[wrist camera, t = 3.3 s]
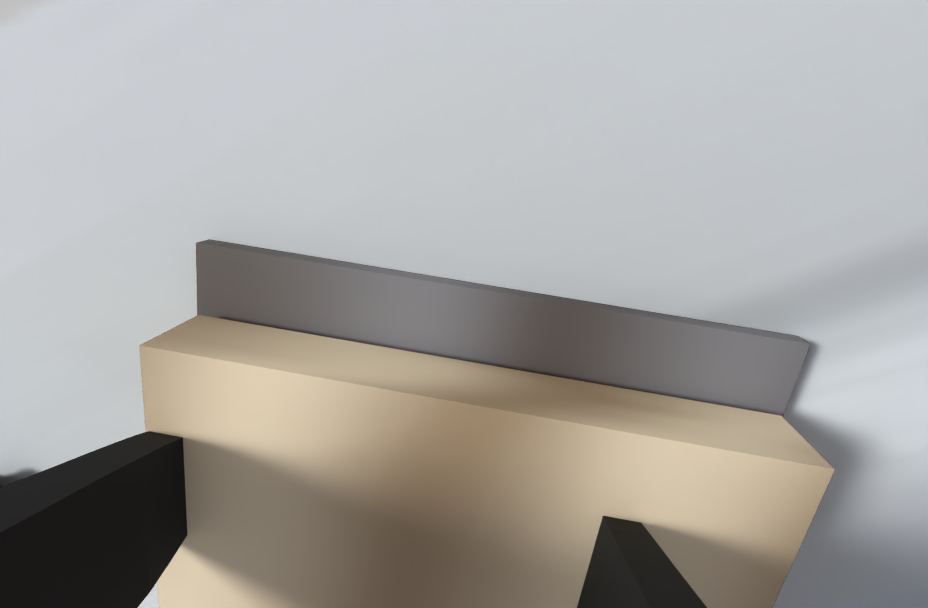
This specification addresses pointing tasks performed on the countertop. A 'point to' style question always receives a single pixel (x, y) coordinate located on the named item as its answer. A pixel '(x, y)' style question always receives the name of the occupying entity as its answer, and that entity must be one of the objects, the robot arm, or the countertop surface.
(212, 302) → the floor row
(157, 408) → the plank
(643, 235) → the countertop surface
